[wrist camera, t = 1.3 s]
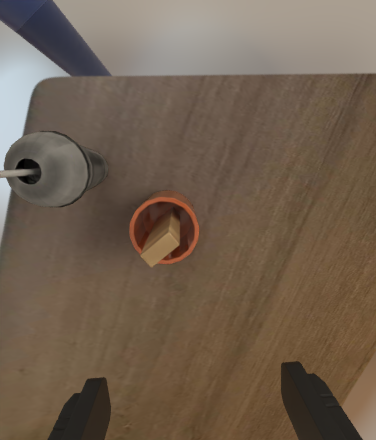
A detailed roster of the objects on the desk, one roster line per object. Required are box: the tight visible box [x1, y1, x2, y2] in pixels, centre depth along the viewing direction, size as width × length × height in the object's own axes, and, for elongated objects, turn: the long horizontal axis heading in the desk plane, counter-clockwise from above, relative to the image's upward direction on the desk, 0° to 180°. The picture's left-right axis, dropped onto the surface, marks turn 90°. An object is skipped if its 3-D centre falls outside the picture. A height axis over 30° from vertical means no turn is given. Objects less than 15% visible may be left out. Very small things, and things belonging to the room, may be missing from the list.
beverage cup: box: [0, 131, 108, 207], centre depth 26 cm, size 7×7×20 cm
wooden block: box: [140, 207, 180, 267], centre depth 30 cm, size 2×4×14 cm, turn 130°
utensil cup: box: [130, 190, 199, 264], centre depth 34 cm, size 8×8×8 cm
